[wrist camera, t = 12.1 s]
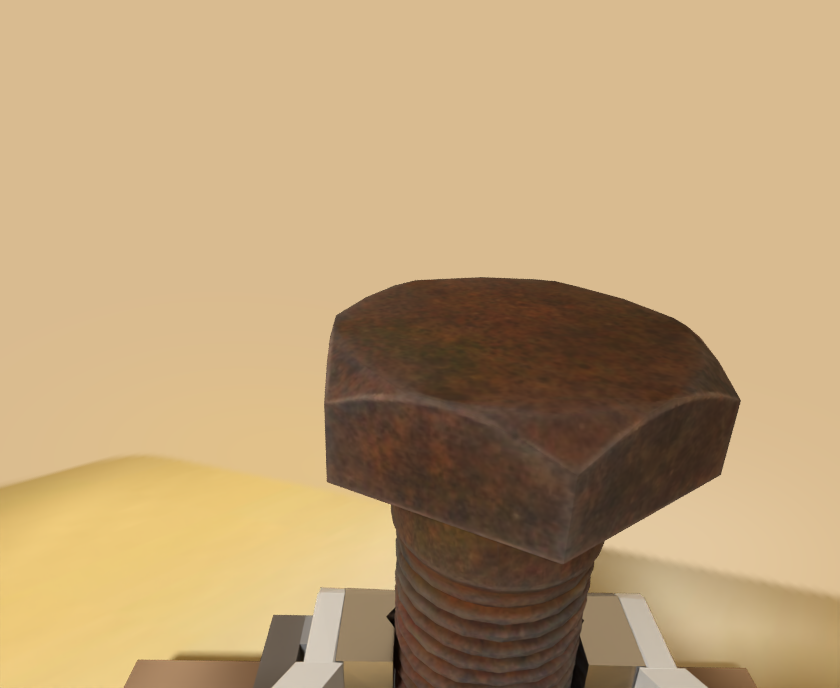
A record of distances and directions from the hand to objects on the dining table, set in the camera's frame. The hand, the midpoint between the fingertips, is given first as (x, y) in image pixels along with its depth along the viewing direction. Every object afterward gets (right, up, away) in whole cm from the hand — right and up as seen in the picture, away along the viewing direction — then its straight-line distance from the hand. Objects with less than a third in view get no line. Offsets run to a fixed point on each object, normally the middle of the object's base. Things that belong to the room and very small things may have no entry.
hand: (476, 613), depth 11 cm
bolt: (0, -8, +3) cm, 9 cm away
